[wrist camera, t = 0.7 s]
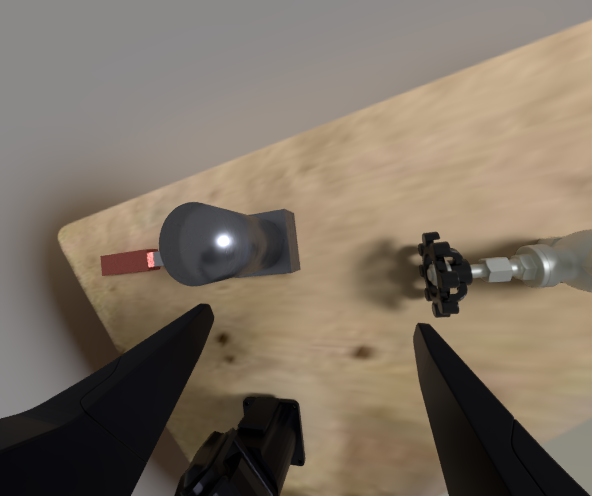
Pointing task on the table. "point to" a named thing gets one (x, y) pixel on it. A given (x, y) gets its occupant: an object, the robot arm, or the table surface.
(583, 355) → the table surface
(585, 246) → the valve
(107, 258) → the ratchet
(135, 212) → the table surface
